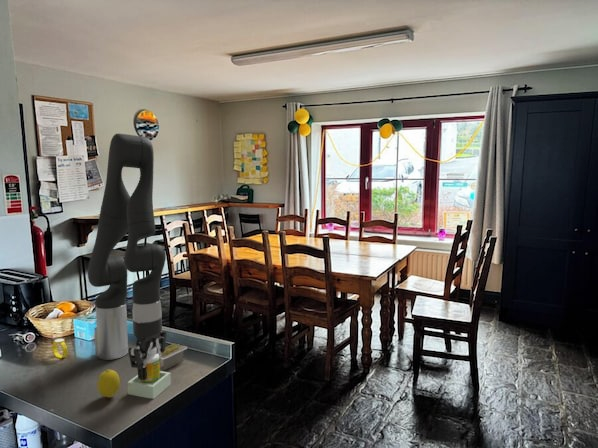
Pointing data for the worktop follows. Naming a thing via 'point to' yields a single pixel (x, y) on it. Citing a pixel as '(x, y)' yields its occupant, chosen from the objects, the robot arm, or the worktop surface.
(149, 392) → the pale green open box
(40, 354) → the worktop surface
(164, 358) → the butter dish
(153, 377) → the supplement bottle
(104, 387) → the lemon
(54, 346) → the watch
